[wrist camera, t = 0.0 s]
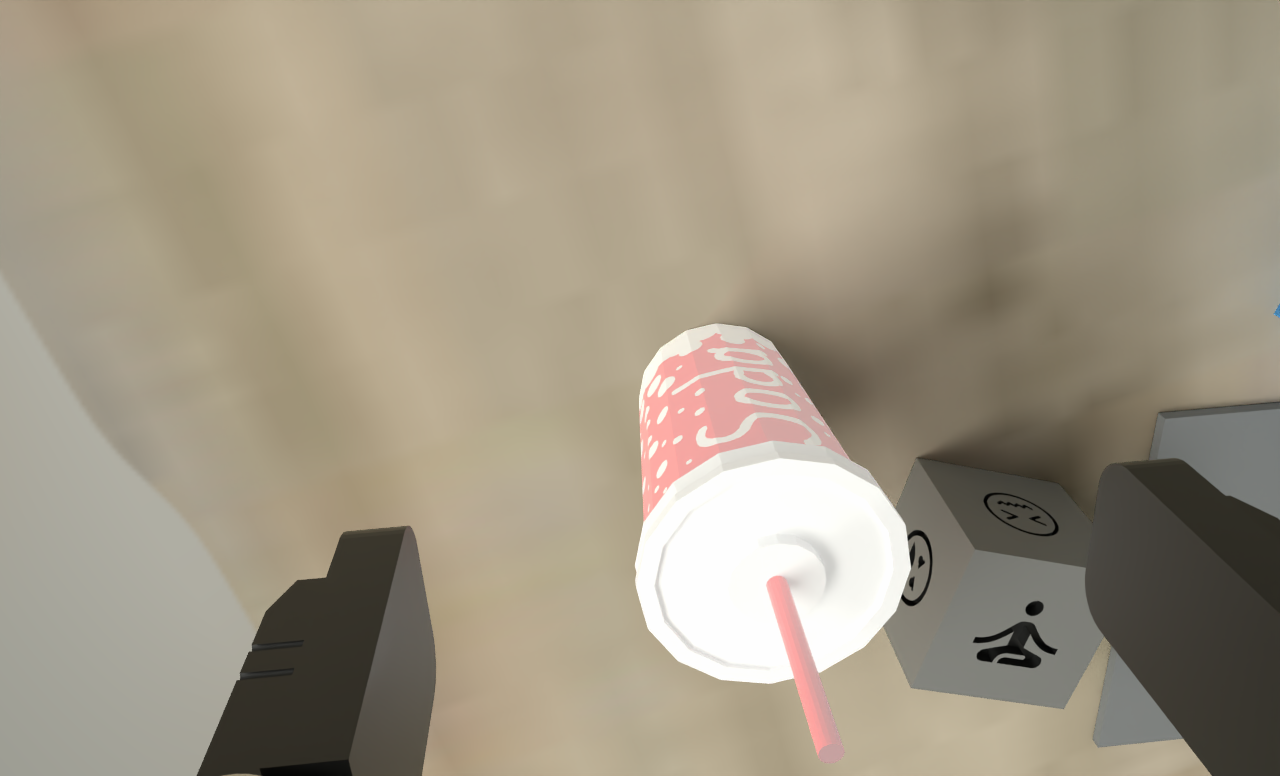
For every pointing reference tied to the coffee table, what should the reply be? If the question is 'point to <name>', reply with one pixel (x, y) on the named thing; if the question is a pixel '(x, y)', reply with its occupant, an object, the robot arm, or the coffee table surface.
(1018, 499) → the dice cube
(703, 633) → the beverage cup
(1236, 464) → the mat
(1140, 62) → the coffee table surface
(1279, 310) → the perfume bottle
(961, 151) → the coffee table surface
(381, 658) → the robot arm
